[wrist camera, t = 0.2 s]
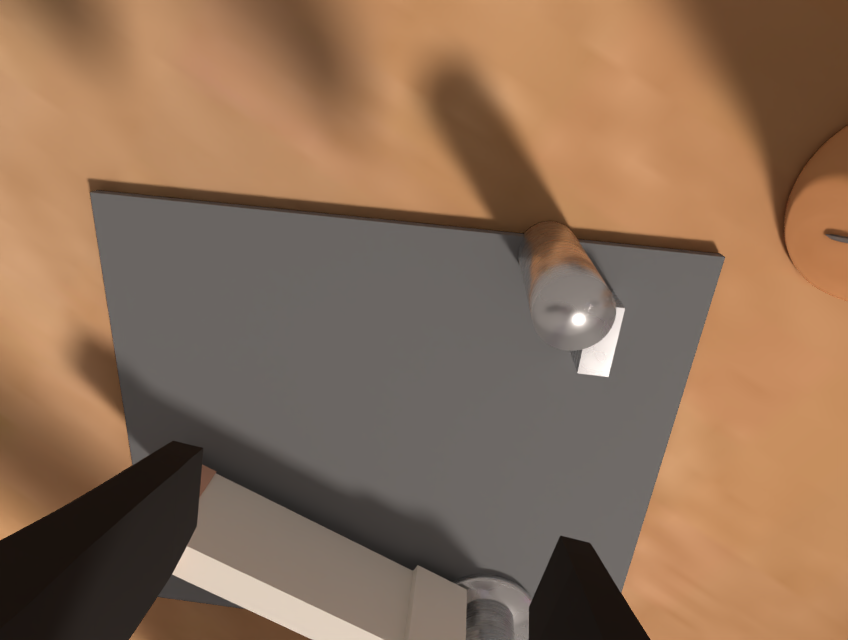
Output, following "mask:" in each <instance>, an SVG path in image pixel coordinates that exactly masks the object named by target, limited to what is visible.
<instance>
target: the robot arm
mask: <svg viewBox="0 0 848 640" xmlns="http://www.w3.org/2000/svg"><path fill="white" fill-rule="evenodd" d="M202 460H203V448H202V447H198V446H194V445H189V444H185V443H181V442H177V441H172V442H170V443H168V444H166V445H165V446H163V447H161V448H160V449H158V450H156V451H155V452H153V453H152V454H150V455H148V456H147V457H145V458H143V459H142V460H140V461H139V462H137V463H135V464H134V465H132V466H131V467H129V468H127V469H126V470H124V471H122V472H121V473H119V474H118V475H116V476H114V477H113V478H111V479H109V480H108V481H106V482H104V483H103V484H101V485H99V486H98V487H96V488H94V489H93V490H91V491H89V492H87V493H86V494H84V495H82V496H81V497H79V498H77V499H76V500H74V501H72V502H70V503H69V504H67V505H65V506H64V507H62V508H60V509H58V510H56V511H55V512H53V513H51V514H49V515H47V516H45V517H43V518H42V519H40V520H38V521H36V522H34V523H32V524H30V525H29V526H27V527H25V528H23V529H21V530H19V531H17V532H16V533H14V534H12V535H10V536H8V537H6V538H4V539H2V540H0V640H129V639H130V637H131V636H132V634H133V633H134V631H135V630H136V628H137V627H138V625H139V624H140V622H141V621H142V619H143V618H144V616H145V615H146V613H147V612H148V610H149V609H150V607H151V606H152V604H153V603H154V601H155V600H156V598H157V597H158V595H159V594H160V592H161V591H162V589H163V588H164V586H165V585H166V583H167V582H168V580H169V578H170V577H171V575H172V574H173V572H174V570H175V568H176V566H177V564H178V562H179V560H180V558H181V557H182V555H183V553H184V551H185V549H186V547H187V545H188V543H189V541H190V539H191V537H192V535H193V533H194V531H195V529H196V527H197V519H198V508H199V496H200V484H201V472H202ZM529 640H650V638H649V637H648V635H647V634H646V632H645V630H644V629H643V627H642V626H641V624H640V623H639V621H638V619H637V618H636V616H635V615H634V613H633V612H632V610H631V608H630V607H629V605H628V604H627V602H626V600H625V599H624V597H623V595H622V594H621V592H620V591H619V589H618V587H617V586H616V584H615V582H614V581H613V579H612V577H611V576H610V574H609V572H608V571H607V569H606V567H605V566H604V564H603V563H602V561H601V559H600V558H599V556H598V554H597V553H596V551H595V549H594V548H593V546H592V545H591V543H589V542H585V541H581V540H577V539H573V538H569V537H565V536H560V537H559V539H558V542H557V544H556V546H555V548H554V551H553V553H552V555H551V558H550V560H549V562H548V565H547V567H546V569H545V571H544V574H543V576H542V578H541V581H540V583H539V585H538V587H537V590H536V592H535V594H534V597H533V599H532V601H531V603H530V606H529Z"/></svg>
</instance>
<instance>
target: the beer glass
mask: <svg viewBox="0 0 848 640" xmlns="http://www.w3.org/2000/svg"><path fill="white" fill-rule="evenodd" d="M784 238H785V244H786V248H787V251H788V254H789V256H790V258H791V260H792V262H793V264H794V266H795V267H796V269H797V270H798V271H799V273H800V274H801V275H802V276H803V277H804V278H805V279H806V280H807V281H808V282H809V283H810V284H812V285H813V286H814V287H816V288H817V289H819V290H821V291H823V292H825V293H827V294H829V295H831V296H833V297H836V298H839V299H842V300H845V301H848V125H847V126H846V127H844V128H843V129H841V130H840V131H839V132H837V133H836V134H835V135H834V136H832V137H831V138H830V139H829V140H828V141H827V142H826V143H824V144H823V145H822V146H821V147H820V148H819V150H818V151H817V152H816V153H815V154H814V155H813V156H812V158H811V159H810V160H809V161H808V163H807V164H806V165H805V167H804V168H803V170H802V171H801V173H800V175H799V176H798V178H797V180H796V182H795V184H794V186H793V188H792V191H791V193H790V196H789V199H788V202H787V206H786V211H785V217H784Z"/></svg>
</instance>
